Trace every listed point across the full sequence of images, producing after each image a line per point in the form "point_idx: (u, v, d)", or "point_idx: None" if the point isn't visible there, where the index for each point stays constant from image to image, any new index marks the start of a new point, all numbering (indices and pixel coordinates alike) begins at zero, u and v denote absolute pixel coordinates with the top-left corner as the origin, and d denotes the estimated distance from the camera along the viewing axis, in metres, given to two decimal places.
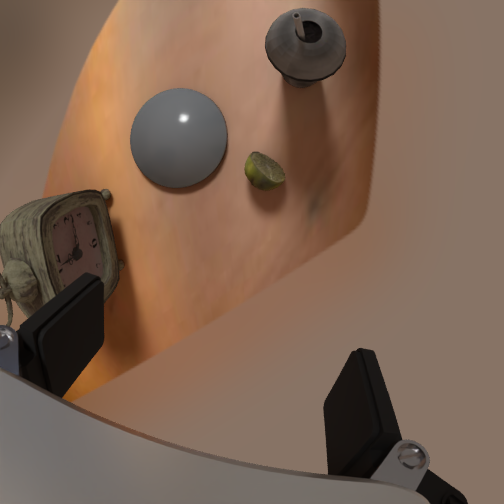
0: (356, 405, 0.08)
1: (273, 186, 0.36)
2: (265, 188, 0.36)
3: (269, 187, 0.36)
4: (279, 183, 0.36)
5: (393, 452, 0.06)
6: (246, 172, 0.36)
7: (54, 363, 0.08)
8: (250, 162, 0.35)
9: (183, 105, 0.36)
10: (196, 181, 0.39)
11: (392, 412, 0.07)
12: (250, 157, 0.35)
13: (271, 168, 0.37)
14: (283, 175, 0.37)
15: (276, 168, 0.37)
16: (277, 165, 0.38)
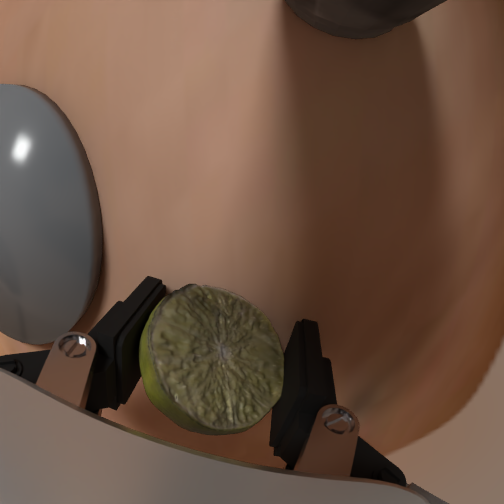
0: (292, 370, 0.09)
1: None
2: None
3: None
4: None
5: (318, 414, 0.07)
6: None
7: (127, 366, 0.09)
8: (147, 362, 0.08)
9: None
10: (49, 338, 0.13)
11: (322, 376, 0.08)
12: (147, 335, 0.09)
13: (236, 352, 0.10)
14: (279, 368, 0.11)
15: (256, 341, 0.11)
16: (260, 323, 0.11)
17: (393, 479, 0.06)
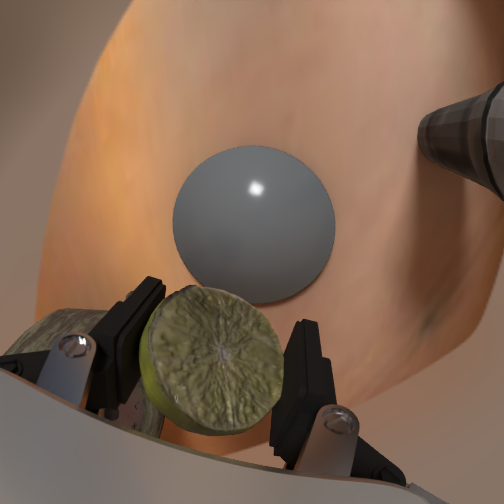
0: (292, 370, 0.09)
1: None
2: None
3: None
4: None
5: (318, 414, 0.07)
6: None
7: (127, 366, 0.09)
8: (147, 363, 0.08)
9: (267, 177, 0.24)
10: (282, 297, 0.27)
11: (322, 376, 0.08)
12: (148, 336, 0.09)
13: (236, 353, 0.10)
14: (279, 369, 0.11)
15: (255, 342, 0.11)
16: (260, 324, 0.11)
17: (393, 479, 0.06)
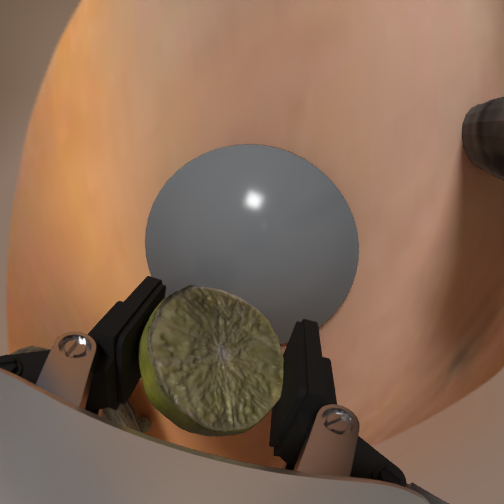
0: (292, 370, 0.09)
1: None
2: None
3: None
4: None
5: (318, 414, 0.07)
6: None
7: (127, 366, 0.09)
8: (147, 364, 0.08)
9: (267, 187, 0.17)
10: (288, 340, 0.21)
11: (322, 376, 0.08)
12: (147, 337, 0.09)
13: (236, 353, 0.10)
14: (278, 369, 0.11)
15: (255, 342, 0.11)
16: (260, 324, 0.11)
17: (393, 479, 0.06)
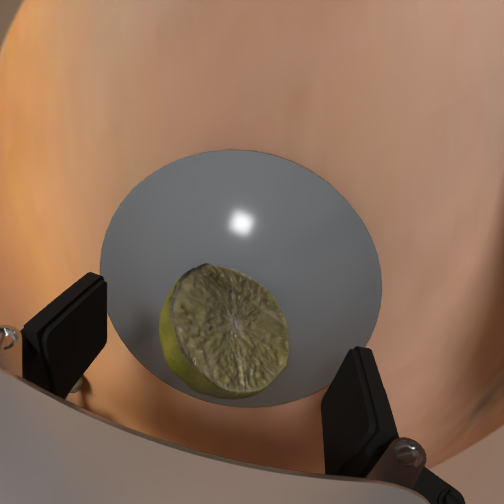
0: (353, 403, 0.08)
1: None
2: None
3: None
4: None
5: (389, 450, 0.06)
6: (162, 349, 0.10)
7: (58, 363, 0.08)
8: (168, 329, 0.10)
9: (258, 212, 0.12)
10: (285, 400, 0.15)
11: (389, 410, 0.07)
12: (169, 306, 0.10)
13: (246, 324, 0.11)
14: (284, 340, 0.12)
15: (263, 316, 0.12)
16: (267, 300, 0.13)
17: (456, 502, 0.05)
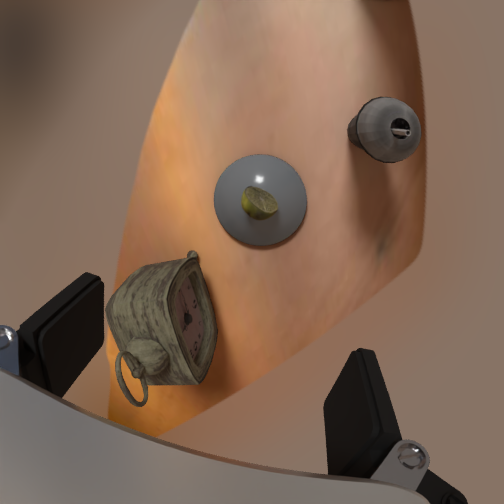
0: (356, 405, 0.08)
1: (268, 216, 0.41)
2: (261, 219, 0.41)
3: (264, 218, 0.41)
4: (273, 213, 0.41)
5: (393, 452, 0.06)
6: (243, 207, 0.41)
7: (54, 363, 0.08)
8: (245, 198, 0.40)
9: (264, 171, 0.43)
10: (282, 238, 0.46)
11: (392, 412, 0.07)
12: (244, 193, 0.40)
13: (264, 199, 0.42)
14: (276, 204, 0.42)
15: (269, 198, 0.43)
16: (270, 195, 0.43)
17: None
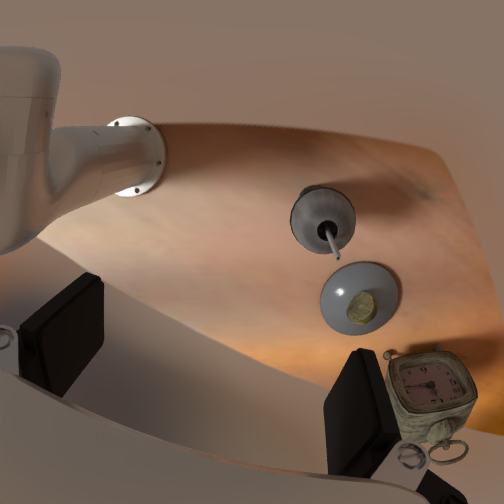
0: (356, 405, 0.08)
1: (376, 307, 0.44)
2: (376, 312, 0.44)
3: (376, 310, 0.44)
4: (374, 302, 0.44)
5: (393, 452, 0.06)
6: None
7: (54, 363, 0.08)
8: (356, 322, 0.45)
9: (336, 295, 0.48)
10: (396, 287, 0.47)
11: (392, 412, 0.07)
12: (352, 321, 0.46)
13: (361, 303, 0.46)
14: (367, 294, 0.46)
15: (361, 297, 0.46)
16: (358, 295, 0.47)
17: None
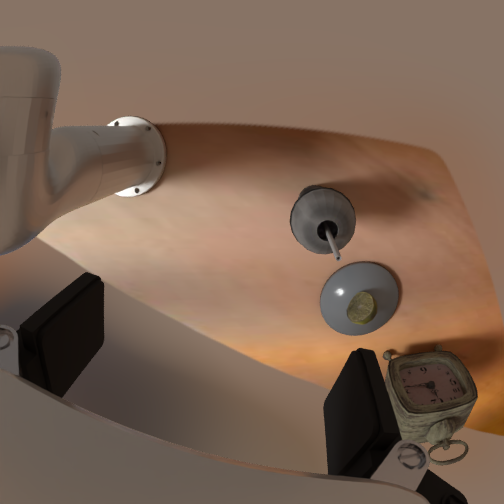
0: (356, 405, 0.08)
1: (375, 307, 0.44)
2: (376, 312, 0.44)
3: (376, 310, 0.44)
4: (374, 302, 0.44)
5: (393, 452, 0.06)
6: None
7: (54, 363, 0.08)
8: (356, 322, 0.45)
9: (336, 295, 0.48)
10: (396, 287, 0.47)
11: (392, 412, 0.07)
12: (351, 321, 0.46)
13: (361, 303, 0.46)
14: (367, 294, 0.46)
15: (361, 297, 0.46)
16: (358, 295, 0.47)
17: None
